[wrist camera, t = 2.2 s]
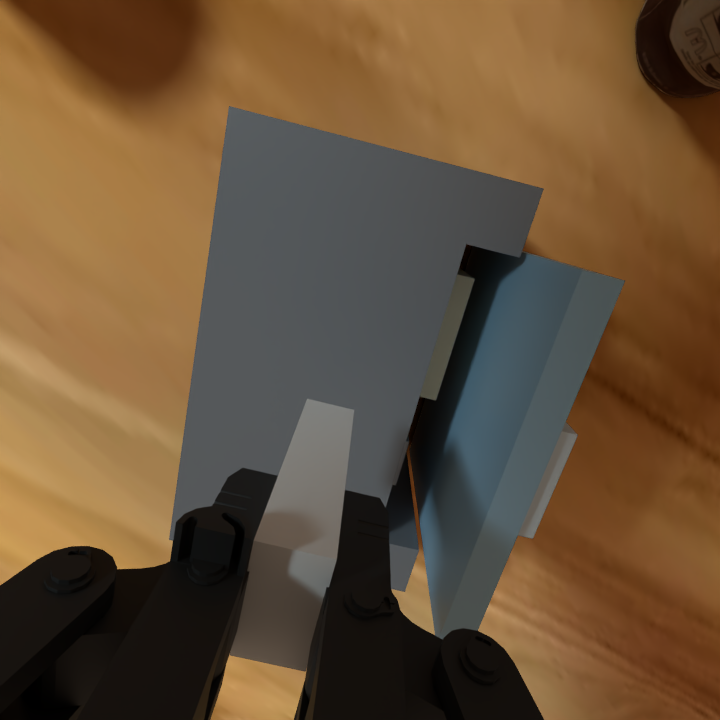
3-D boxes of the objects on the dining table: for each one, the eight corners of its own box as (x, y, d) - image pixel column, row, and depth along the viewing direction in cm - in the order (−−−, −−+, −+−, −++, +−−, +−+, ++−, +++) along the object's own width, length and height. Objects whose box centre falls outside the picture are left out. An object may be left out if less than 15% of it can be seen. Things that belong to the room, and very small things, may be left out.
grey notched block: (284, 144, 25) (221, 100, 15) (481, 196, 26) (551, 187, 15) (230, 453, 31) (158, 575, 21) (390, 490, 32) (398, 627, 21)
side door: (474, 237, 26) (582, 269, 12) (508, 246, 26) (653, 287, 13) (409, 447, 30) (436, 644, 17) (438, 454, 30) (490, 655, 17)
